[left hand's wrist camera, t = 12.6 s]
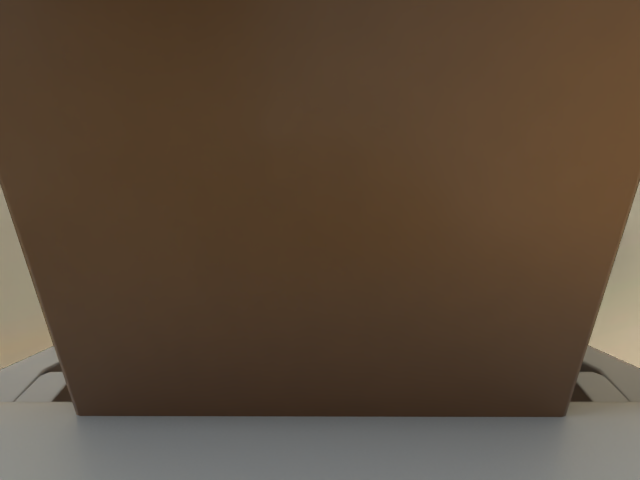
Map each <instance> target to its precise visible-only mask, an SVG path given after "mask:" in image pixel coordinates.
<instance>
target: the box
mask: <svg viewBox="0 0 640 480" xmlns="http://www.w3.org/2000/svg"><path fill="white" fill-rule="evenodd" d="M639 181H640V0H0V184H1V187H2V190H3V193H4V196H5V199H6V202H7V206H8V209H9V212H10V215H11V218H12V221H13V224H14V227H15V230H16V233H17V236H18V239H19V242H20V245H21V248H22V251H23V254H24V257H25V260H26V263H27V266H28V269H29V272H30V275H31V278H32V281H33V284H34V287H35V290H36V294H37V297H38V300H39V303H40V306H41V309H42V312H43V315H44V318H45V321H46V324H47V327H48V330H49V333H50V336H51V339H52V342H53V345H54V348H55V351H56V354H57V357H58V360H59V363H60V366H61V369H62V372H63V375H64V379H65V382H66V385H67V388H68V391H69V394H70V397H71V400H72V403H73V406H74V409H75V412H76V415H79V416H291V417H563V416H566V413H567V410H568V407H569V404H570V400H571V397H572V394H573V391H574V388H575V385H576V381H577V378H578V375H579V372H580V369H581V365H582V362H583V359H584V356H585V353H586V350H587V346H588V343H589V340H590V337H591V334H592V331H593V327H594V324H595V321H596V318H597V315H598V311H599V308H600V305H601V302H602V299H603V296H604V292H605V289H606V286H607V283H608V280H609V276H610V273H611V270H612V267H613V264H614V261H615V257H616V254H617V251H618V248H619V245H620V242H621V238H622V235H623V232H624V229H625V226H626V222H627V219H628V216H629V213H630V210H631V207H632V203H633V200H634V197H635V194H636V191H637V187H638V184H639Z"/></svg>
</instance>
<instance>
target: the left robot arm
mask: <svg viewBox="0 0 640 480" xmlns="http://www.w3.org/2000/svg"><path fill="white" fill-rule="evenodd" d="M0 480H640V368H638V367H636V366H633V365H631V364H629V363H627V362H624V361H622V360H620V359H618V358H615V357H613V356H611V355H609V354H606V353H604V352H602V351H600V350H597V349H595V348H593V347H591V346H587V350H586V353H585V356H584V359H583V362H582V365H581V369H580V372H579V375H578V378H577V381H576V385H575V388H574V391H573V394H572V397H571V400H570V404H569V407H568V410H567V413H566V416H563V417H291V416H79V415H76V412H75V409H74V406H73V403H72V400H71V397H70V394H69V391H68V388H67V385H66V382H65V379H64V375H63V372H62V369H61V366H60V363H59V360H58V357H57V354H56V351H55V348H54V346H53V347H50V348H48V349H46V350H44V351H41V352H39V353H37V354H35V355H32V356H30V357H28V358H26V359H23V360H21V361H19V362H17V363H14V364H12V365H10V366H8V367H5V368H3V369H1V370H0Z"/></svg>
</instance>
